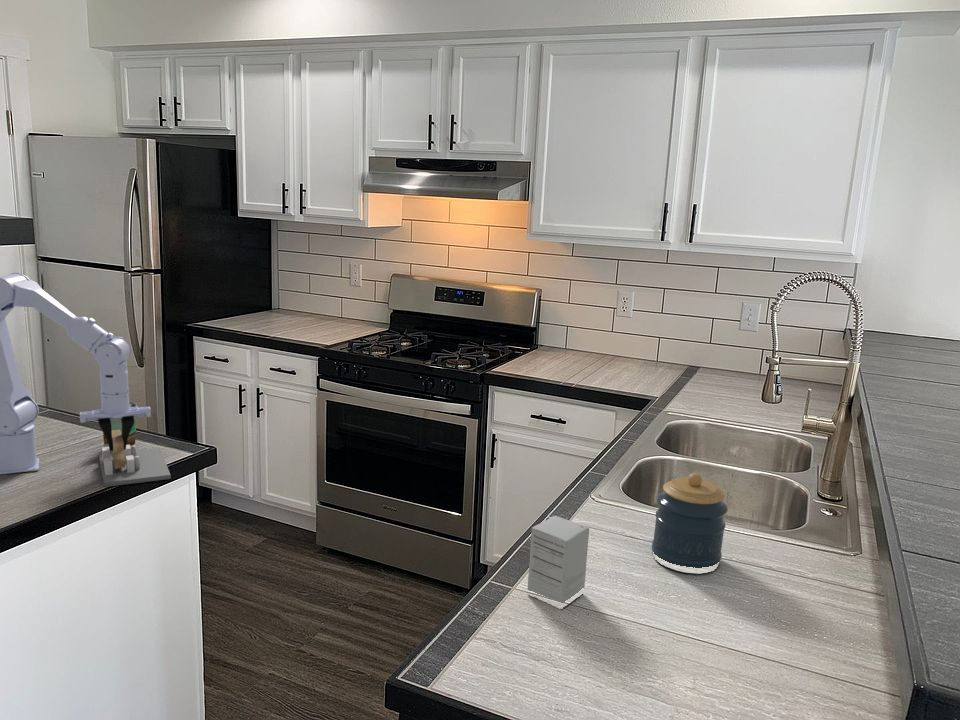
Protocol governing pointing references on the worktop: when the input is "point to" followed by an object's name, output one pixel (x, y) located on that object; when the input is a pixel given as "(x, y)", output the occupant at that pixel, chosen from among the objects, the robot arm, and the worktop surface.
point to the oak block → (118, 449)
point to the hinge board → (134, 466)
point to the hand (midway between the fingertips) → (117, 448)
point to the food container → (118, 426)
